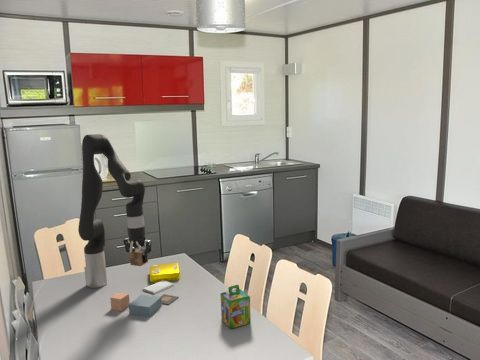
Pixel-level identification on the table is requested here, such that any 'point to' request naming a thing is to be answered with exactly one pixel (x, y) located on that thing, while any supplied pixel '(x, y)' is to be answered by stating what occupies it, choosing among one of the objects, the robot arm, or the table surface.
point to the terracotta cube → (119, 301)
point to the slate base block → (145, 305)
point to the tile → (168, 299)
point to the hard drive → (158, 287)
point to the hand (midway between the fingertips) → (139, 261)
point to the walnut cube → (136, 258)
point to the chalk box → (235, 307)
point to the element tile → (164, 272)
